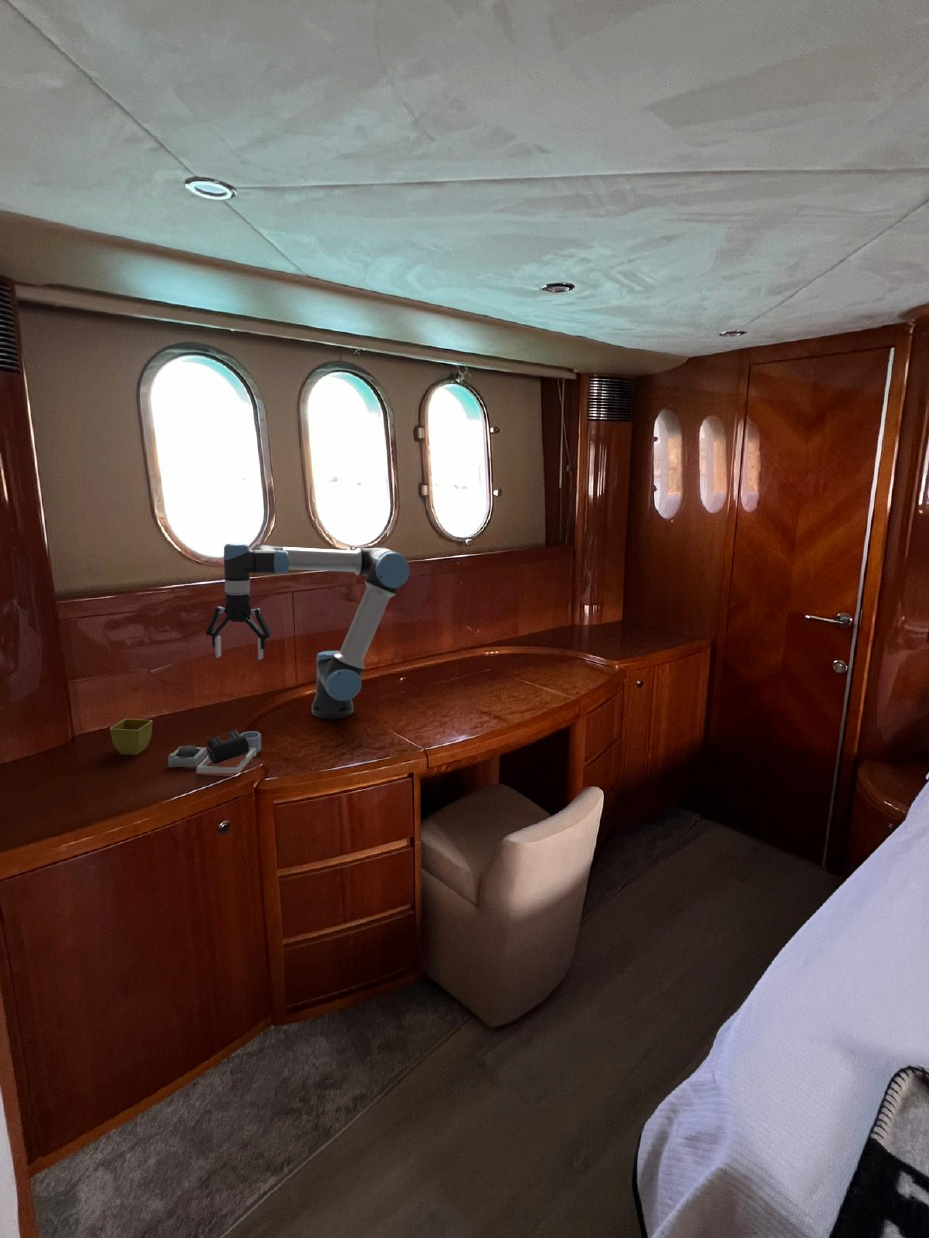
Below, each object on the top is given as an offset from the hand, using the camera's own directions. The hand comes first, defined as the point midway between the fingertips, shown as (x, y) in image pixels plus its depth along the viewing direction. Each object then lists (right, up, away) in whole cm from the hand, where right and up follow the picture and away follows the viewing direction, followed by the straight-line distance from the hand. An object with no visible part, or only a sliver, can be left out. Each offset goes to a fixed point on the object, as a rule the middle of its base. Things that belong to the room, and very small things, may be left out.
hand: (239, 657), depth 204 cm
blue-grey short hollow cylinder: (+5, -29, -5) cm, 30 cm away
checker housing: (-10, -30, -16) cm, 35 cm away
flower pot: (-29, -28, -11) cm, 42 cm away
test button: (-10, -29, -16) cm, 34 cm away
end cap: (+2, -29, -16) cm, 33 cm away
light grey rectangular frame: (+2, -31, -16) cm, 35 cm away
